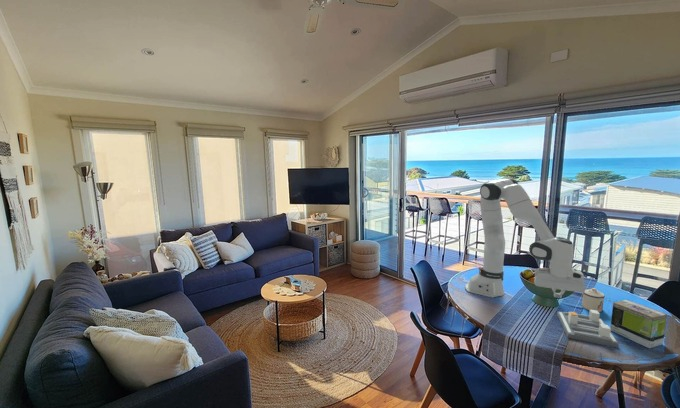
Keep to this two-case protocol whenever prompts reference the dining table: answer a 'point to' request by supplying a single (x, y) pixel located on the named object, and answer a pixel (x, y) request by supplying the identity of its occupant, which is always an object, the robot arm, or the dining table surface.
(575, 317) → the breaker
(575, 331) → the panel
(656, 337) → the tea box
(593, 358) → the dining table surface
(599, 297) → the teacup with lid
